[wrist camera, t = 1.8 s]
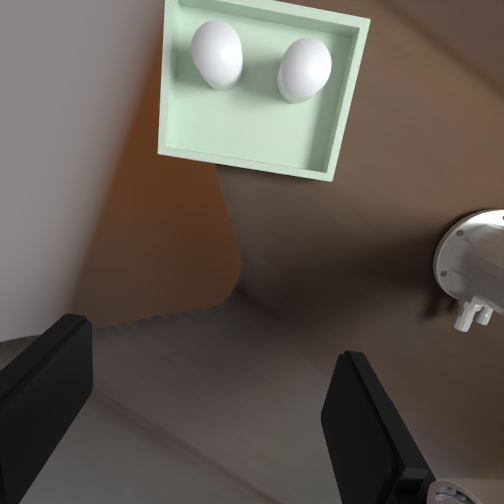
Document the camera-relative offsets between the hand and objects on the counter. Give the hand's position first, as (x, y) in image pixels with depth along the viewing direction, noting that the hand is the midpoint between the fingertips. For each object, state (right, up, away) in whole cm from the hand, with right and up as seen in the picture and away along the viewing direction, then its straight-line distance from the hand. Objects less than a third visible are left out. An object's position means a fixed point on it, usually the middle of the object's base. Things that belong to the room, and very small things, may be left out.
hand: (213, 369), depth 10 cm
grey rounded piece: (+6, +22, +21) cm, 31 cm away
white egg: (-2, +23, +21) cm, 31 cm away
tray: (+2, +21, +22) cm, 31 cm away
